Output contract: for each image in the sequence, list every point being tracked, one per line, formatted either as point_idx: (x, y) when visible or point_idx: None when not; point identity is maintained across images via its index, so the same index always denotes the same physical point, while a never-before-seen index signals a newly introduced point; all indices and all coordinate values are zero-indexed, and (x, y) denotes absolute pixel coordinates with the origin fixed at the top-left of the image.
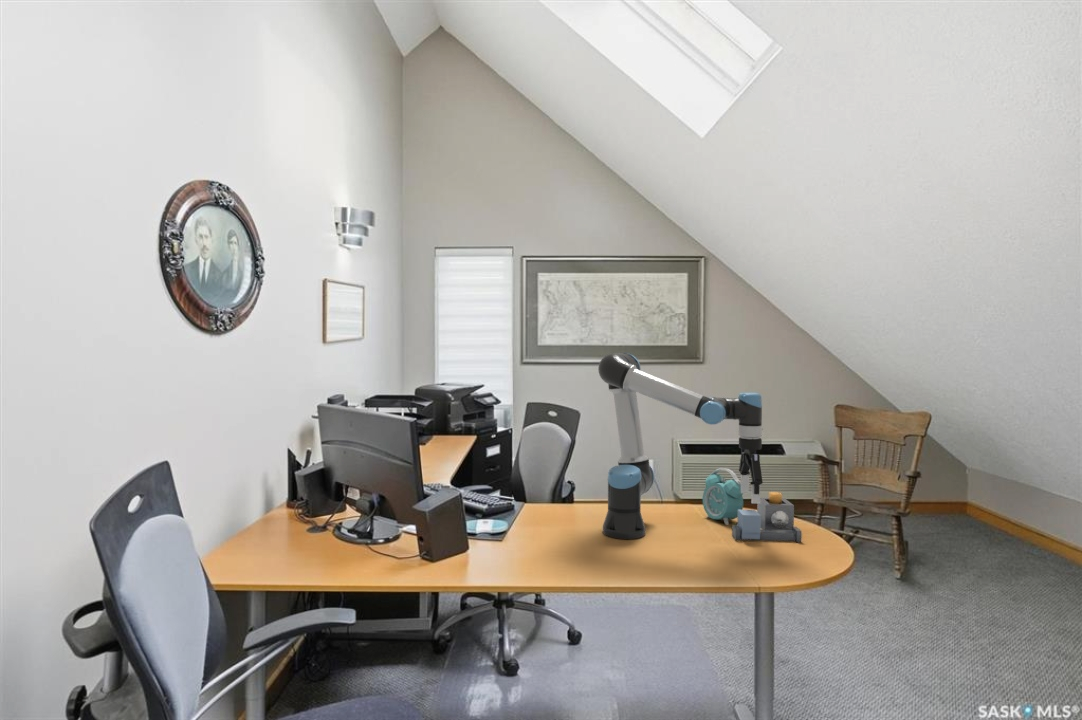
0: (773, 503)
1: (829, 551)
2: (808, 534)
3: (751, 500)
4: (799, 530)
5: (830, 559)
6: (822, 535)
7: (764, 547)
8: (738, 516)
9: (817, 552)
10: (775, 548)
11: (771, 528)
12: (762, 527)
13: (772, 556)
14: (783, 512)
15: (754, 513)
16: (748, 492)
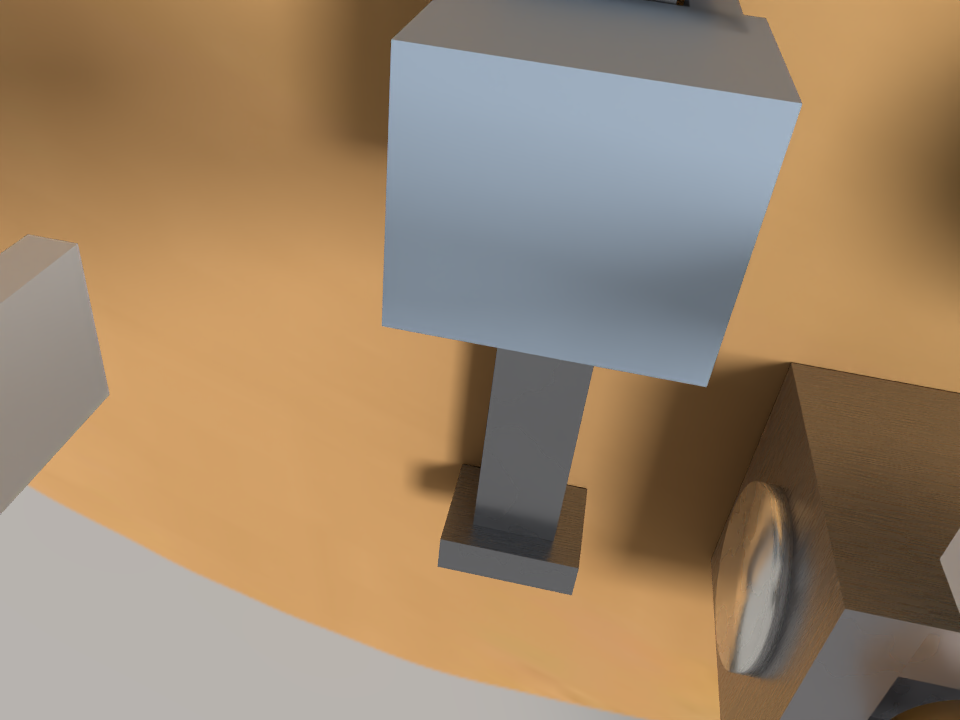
0: (914, 715)
1: (280, 549)
2: (655, 625)
3: (28, 269)
4: (455, 562)
5: (119, 476)
6: (618, 680)
7: (314, 135)
8: (713, 55)
9: (246, 477)
10: (297, 228)
11: (775, 440)
12: (893, 394)
13: (64, 94)
14: (736, 663)
15: (499, 289)
16: (951, 570)
